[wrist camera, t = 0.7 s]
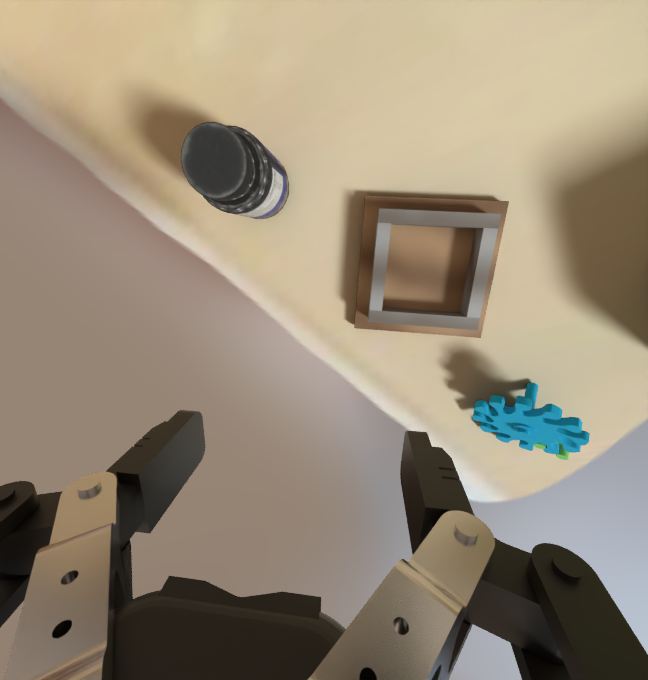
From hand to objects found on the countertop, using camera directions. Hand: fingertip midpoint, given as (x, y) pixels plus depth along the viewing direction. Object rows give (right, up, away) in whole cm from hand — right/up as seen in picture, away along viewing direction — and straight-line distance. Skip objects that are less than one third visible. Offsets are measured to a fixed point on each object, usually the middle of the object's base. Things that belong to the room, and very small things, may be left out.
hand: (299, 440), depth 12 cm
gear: (+22, -4, +24) cm, 33 cm away
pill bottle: (-5, +19, +20) cm, 28 cm away
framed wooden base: (+11, +11, +20) cm, 26 cm away
